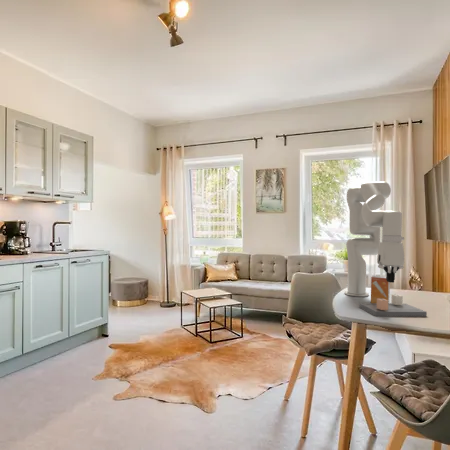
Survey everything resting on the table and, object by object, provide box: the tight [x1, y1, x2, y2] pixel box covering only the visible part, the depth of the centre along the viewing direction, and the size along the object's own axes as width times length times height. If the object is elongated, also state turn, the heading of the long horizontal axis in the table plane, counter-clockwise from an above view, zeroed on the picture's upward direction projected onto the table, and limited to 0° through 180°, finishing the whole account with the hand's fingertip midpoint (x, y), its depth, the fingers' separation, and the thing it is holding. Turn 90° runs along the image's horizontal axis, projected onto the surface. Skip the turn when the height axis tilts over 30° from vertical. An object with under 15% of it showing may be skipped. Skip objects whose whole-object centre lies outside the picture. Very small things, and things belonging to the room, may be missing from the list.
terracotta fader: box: [377, 298, 388, 310], centre depth 152 cm, size 4×3×4 cm
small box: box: [370, 275, 391, 303], centre depth 176 cm, size 8×6×13 cm
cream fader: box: [391, 293, 403, 305], centre depth 162 cm, size 4×3×4 cm
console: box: [358, 302, 428, 317], centre depth 157 cm, size 16×22×2 cm
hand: (390, 281), depth 153 cm, fingers closed
